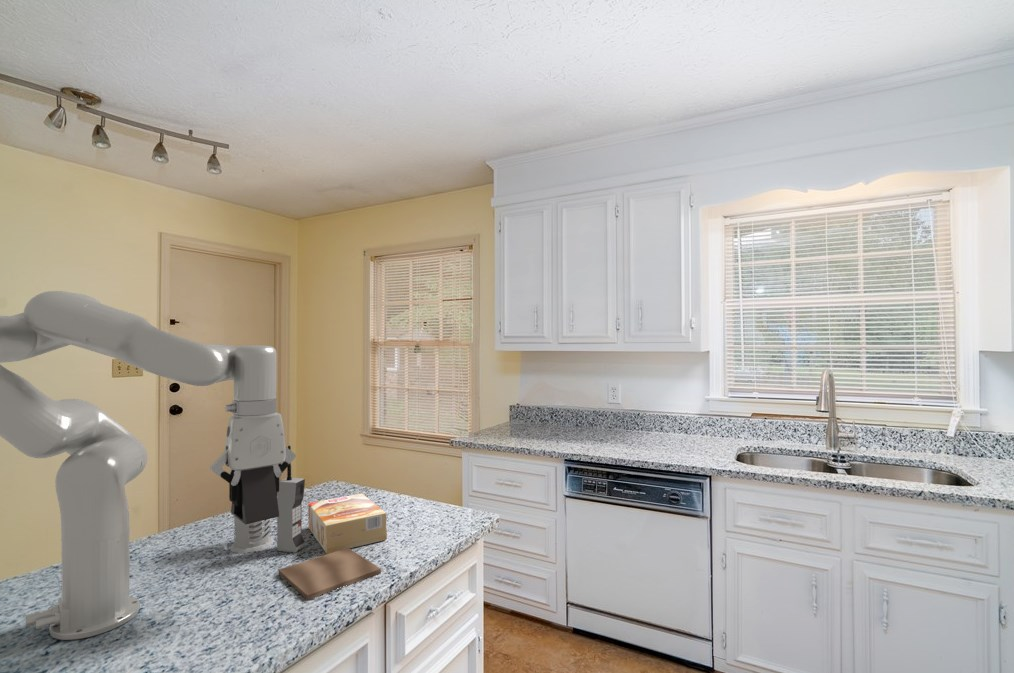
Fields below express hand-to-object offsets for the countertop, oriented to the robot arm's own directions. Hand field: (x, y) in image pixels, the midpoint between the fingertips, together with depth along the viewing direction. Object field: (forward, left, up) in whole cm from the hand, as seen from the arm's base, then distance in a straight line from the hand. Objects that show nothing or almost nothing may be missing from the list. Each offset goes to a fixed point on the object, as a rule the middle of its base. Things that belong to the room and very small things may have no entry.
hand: (254, 499), depth 98 cm
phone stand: (0, 0, -3) cm, 3 cm away
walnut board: (+15, -1, -19) cm, 24 cm away
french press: (+9, +28, -20) cm, 35 cm away
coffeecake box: (+26, +7, -16) cm, 31 cm away
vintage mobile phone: (+14, +18, -20) cm, 30 cm away
